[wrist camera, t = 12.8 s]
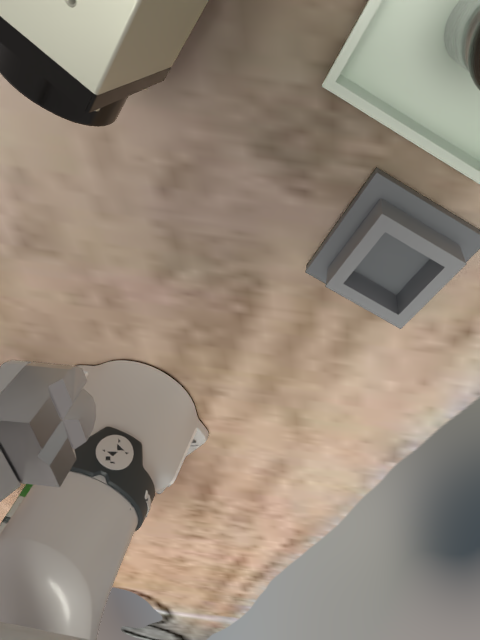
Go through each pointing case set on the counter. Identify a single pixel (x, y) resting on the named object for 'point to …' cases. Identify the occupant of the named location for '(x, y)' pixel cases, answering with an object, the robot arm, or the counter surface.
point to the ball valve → (91, 51)
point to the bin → (411, 79)
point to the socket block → (393, 250)
